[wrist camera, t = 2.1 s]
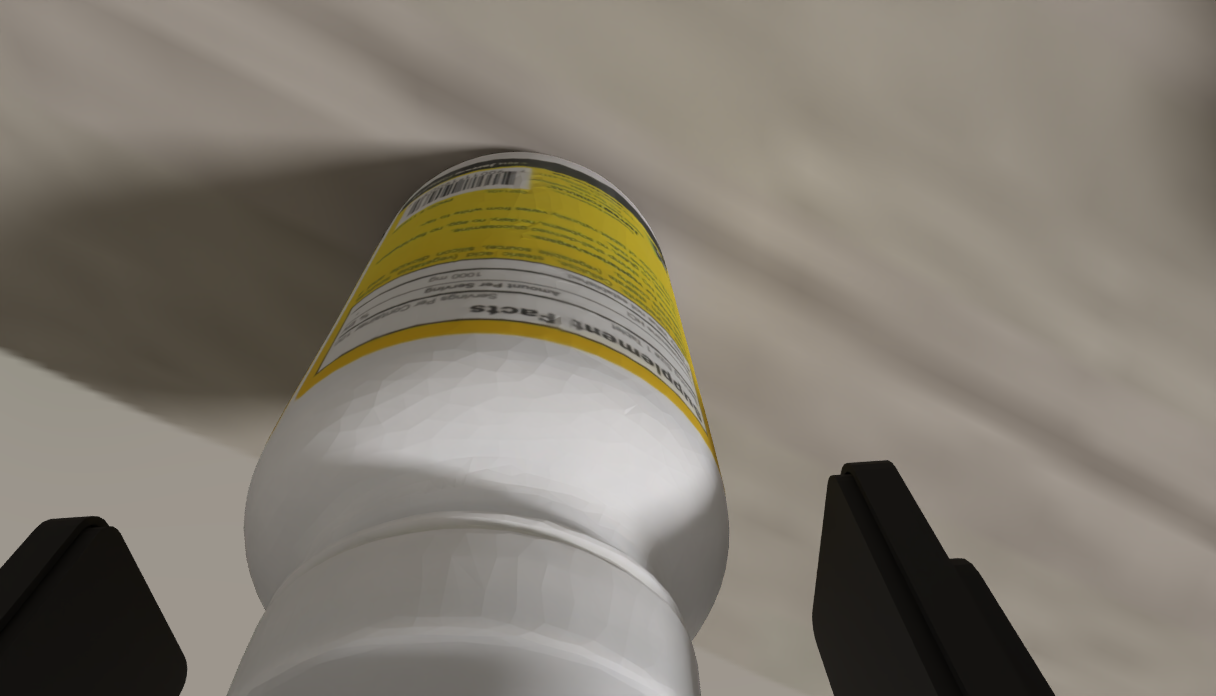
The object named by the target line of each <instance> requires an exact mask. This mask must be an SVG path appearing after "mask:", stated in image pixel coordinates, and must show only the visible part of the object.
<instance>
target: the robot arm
mask: <svg viewBox="0 0 1216 696" xmlns="http://www.w3.org/2000/svg"><path fill="white" fill-rule="evenodd" d="M812 622H813V631H814V636H815V640H816V643H817V646H818V649H819V652H820V655H821V658H822V661H823V664H824V667H825V670H826V673H827V676H828V679H829V682H830V685H831V688H832V691H833V694H834V696H1055V694H1054V693H1053V691H1052V689H1051V688H1050V686H1049V685H1048V683H1047V681H1046V680H1045V678H1044V677H1043V675H1042V673H1041V672H1040V670H1039V668H1038V667H1037V665H1036V664H1035V662H1034V660H1033V659H1032V657H1031V656H1030V654H1029V652H1028V651H1027V649H1026V647H1025V646H1024V644H1023V643H1022V641H1021V639H1020V638H1019V636H1018V635H1017V633H1016V631H1015V630H1014V628H1013V627H1012V625H1011V623H1010V622H1009V620H1008V618H1007V617H1006V615H1005V614H1004V612H1003V610H1002V609H1001V607H1000V606H999V604H998V602H997V601H996V599H995V598H994V596H993V594H992V593H991V591H990V589H989V588H988V586H987V585H986V583H985V581H984V580H983V578H982V577H981V575H980V574H979V572H978V571H977V570H976V568H975V567H974V566H973V564H971V563H970V562H968V561H967V560H966V559H962V558H955V559H949V557H948V556H947V554H946V552H945V551H944V549H943V547H942V546H941V544H940V542H939V540H938V539H937V537H936V535H935V534H934V532H933V530H932V529H931V527H930V525H929V523H928V522H927V520H926V518H925V517H924V515H923V513H922V511H921V510H920V508H919V506H918V505H917V503H916V501H915V500H914V498H913V496H912V494H911V493H910V491H909V489H908V488H907V486H906V484H905V483H904V481H903V479H902V477H901V476H900V474H899V472H898V471H897V469H896V467H895V466H894V465H893V463H892V462H890V461H888V460H884V461H870V462H856V463H846V464H844V466H843V467H842V471H841V475H832V476H830V477H829V480H828V485H827V494H826V502H825V510H824V519H823V527H822V536H821V544H820V553H819V561H818V569H817V578H816V586H815V595H814V603H813V612H812ZM186 676H187V662H186V659H185V657H184V654H183V653H182V651H181V649H180V647H179V645H178V643H177V641H176V639H175V637H174V635H173V633H172V631H171V629H170V627H169V626H168V624H167V622H166V620H165V618H164V616H163V614H162V612H161V610H160V608H159V606H158V605H157V603H156V601H155V599H154V597H153V595H152V593H151V591H150V589H149V587H148V585H147V584H146V581H145V579H144V577H143V576H142V574H141V572H140V570H139V568H138V566H137V564H136V562H135V561H134V558H133V557H132V554H131V553H130V551H129V549H128V547H127V545H126V543H125V542H124V539H123V537H122V535H121V533H120V532H119V531H118V530H117V529H116V528H114V527H111V526H109V525H108V524H107V523H106V521H105V520H104V519H102V518H100V517H97V516H89V517H73V518H59V519H50V520H47V521H44V522H42V523H41V524H40V525H39V526H38V527H37V528H36V529H35V530H34V531H33V532H32V533H31V534H30V535H29V537H28V538H27V539H26V540H25V541H24V542H23V543H22V545H21V546H20V547H19V548H18V549H17V550H16V551H15V552H14V554H13V555H12V556H11V557H10V558H9V559H8V560H7V561H6V563H5V564H4V565H3V566H2V567H1V568H0V696H179V695H180V693H181V691H182V689H183V687H184V684H185V681H186Z"/></svg>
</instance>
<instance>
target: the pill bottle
mask: <svg viewBox="0 0 1216 696" xmlns="http://www.w3.org/2000/svg"><path fill="white" fill-rule="evenodd" d="M244 536H245V549H246V558H247V563H248V567H249V571H250V575H251V578H252V581H253V583H254V586H255V589H256V592H257V595H258V597H259V599H260V600H261V602H262V605H263V607H264V609H265V613H264V614H263V616H262V618H261V620H260V621H259V623H258V625H257V627H256V629H255V632H254V634H253V636H252V638H251V640H250V642H249V644H248V646H247V648H246V651H245V653H244V655H243V657H242V659H241V662H240V664H239V667H238V669H237V672H236V674H235V676H234V679H233V681H232V684H231V686H230V688H229V691H228V694H227V696H701V692H700V683H699V673H698V664H697V660H696V656H695V652H694V649H693V645H692V642H691V641H692V640H693V639H694V637H695V636H696V635H697V633H698V631H699V630H700V628H701V627H702V625H703V623H704V621H705V620H706V618H707V616H708V614H709V612H710V610H711V608H712V606H713V604H714V602H715V600H716V597H717V595H718V592H719V590H720V587H721V584H722V580H723V577H724V573H725V569H726V562H727V556H728V549H729V520H728V510H727V503H726V497H725V490H724V485H723V481H722V477H721V473H720V469H719V465H718V461H717V457H716V453H715V449H714V445H713V441H712V437H711V433H710V429H709V425H708V421H707V418H706V414H705V410H704V407H703V403H702V398H701V395H700V392H699V388H698V384H697V380H696V376H695V372H694V368H693V365H692V361H691V357H690V353H689V349H688V346H687V342H686V339H685V335H684V331H683V327H682V324H681V320H680V316H679V312H678V309H677V305H676V301H675V297H674V293H673V290H672V286H671V283H670V279H669V275H668V271H667V268H666V265H665V261H664V259H663V256H662V253H661V250H660V247H659V244H658V242H657V240H656V237H655V235H654V234H653V232H652V230H651V228H650V226H649V225H648V223H647V221H646V220H645V219H644V217H643V216H642V214H641V213H640V212H639V210H638V209H637V208H636V206H635V205H634V204H633V203H632V202H631V201H630V200H629V199H628V198H627V197H626V196H625V195H624V194H623V193H622V192H621V191H620V190H619V189H618V188H616V187H615V186H614V185H613V184H612V183H610V182H609V181H607V180H606V179H605V178H603V177H602V176H600V175H598V174H597V173H595V172H593V171H591V170H589V169H588V168H586V167H583V166H581V165H579V164H576V163H573V162H570V161H568V160H565V159H562V158H558V157H555V156H550V155H545V154H540V153H532V152H505V153H496V154H491V155H485V156H481V157H478V158H474V159H471V160H468V161H465V162H463V163H460V164H458V165H455V166H453V167H451V168H449V169H447V170H445V171H443V172H442V173H440V174H439V175H437V176H436V177H434V178H433V179H431V180H430V181H428V182H427V183H425V184H424V185H423V186H422V187H421V188H420V189H419V190H417V191H416V192H415V193H414V194H413V195H412V196H411V197H410V199H409V200H408V201H407V202H406V203H405V204H404V206H403V207H402V208H401V209H400V211H399V212H398V214H397V215H396V217H395V218H394V220H393V221H392V223H391V225H390V226H389V228H388V230H387V231H386V232H385V234H384V235H383V237H382V239H381V241H380V243H379V245H378V246H377V248H376V250H375V252H374V253H373V255H372V257H371V259H370V261H369V263H368V264H367V266H366V268H365V270H364V271H363V273H362V275H361V277H360V278H359V280H358V282H357V284H356V286H355V288H354V289H353V291H352V293H351V295H350V297H349V299H348V300H347V302H346V304H345V306H344V308H343V309H342V311H341V313H340V315H339V317H338V319H337V320H336V322H335V324H334V326H333V327H332V329H331V331H330V333H329V335H328V336H327V338H326V340H325V341H324V343H323V345H322V346H321V348H320V350H319V351H318V353H317V355H316V357H315V358H314V360H313V362H312V363H311V365H310V367H309V369H308V370H307V372H306V374H305V375H304V377H303V379H302V381H301V382H300V384H299V386H298V387H297V389H296V391H295V393H294V394H293V396H292V398H291V399H290V401H289V403H288V405H287V406H286V408H285V410H284V412H283V414H282V415H281V417H280V419H279V421H278V423H277V424H276V426H275V428H274V430H273V432H272V434H271V435H270V437H269V439H268V441H267V443H266V445H265V448H264V450H263V452H262V454H261V456H260V459H259V461H258V463H257V465H256V468H255V471H254V473H253V476H252V480H251V483H250V487H249V491H248V495H247V501H246V507H245V518H244Z"/></svg>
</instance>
